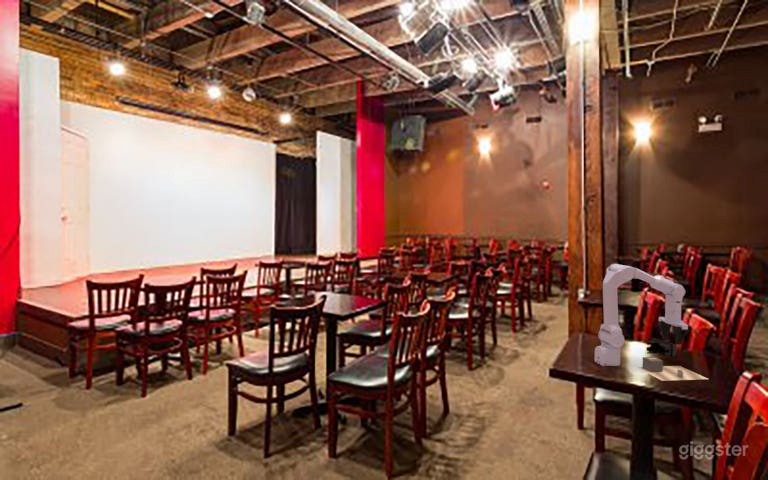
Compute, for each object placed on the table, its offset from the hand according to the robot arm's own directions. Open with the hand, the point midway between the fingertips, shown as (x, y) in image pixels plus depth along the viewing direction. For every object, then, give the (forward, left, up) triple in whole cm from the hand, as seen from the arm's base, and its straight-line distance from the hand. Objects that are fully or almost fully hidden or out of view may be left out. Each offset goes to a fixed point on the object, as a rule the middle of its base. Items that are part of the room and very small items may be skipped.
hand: (672, 341), depth 187 cm
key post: (-10, -17, -8) cm, 21 cm away
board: (-11, -13, -10) cm, 20 cm away
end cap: (+4, +12, -10) cm, 17 cm away
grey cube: (-16, -9, -8) cm, 20 cm away
